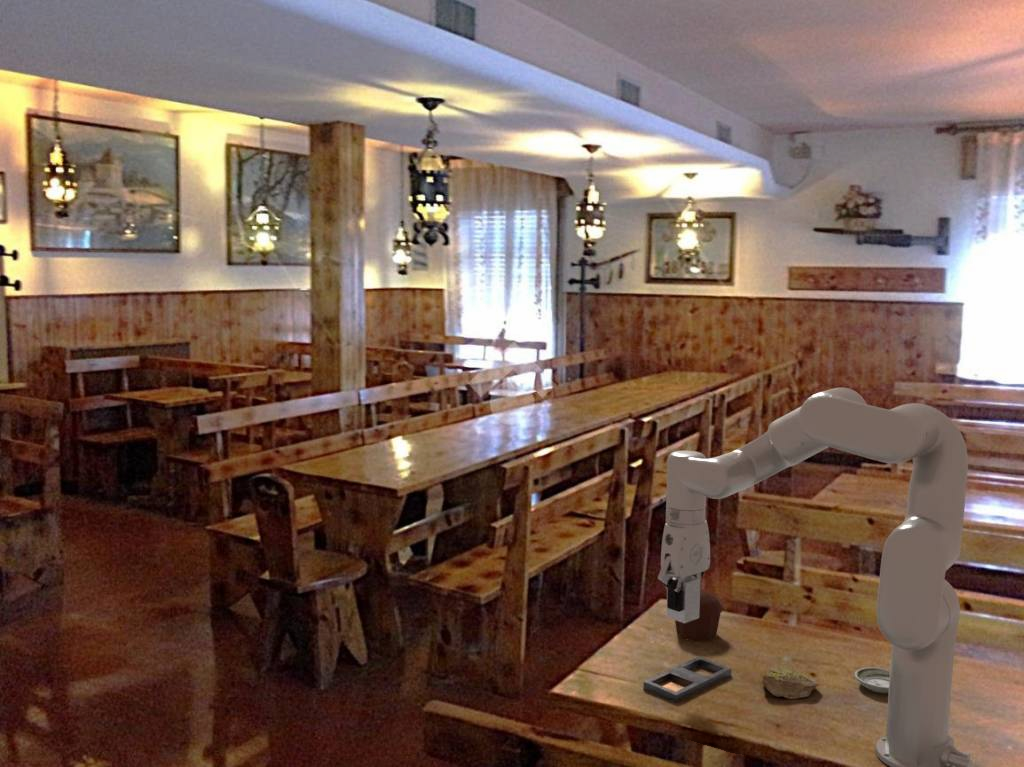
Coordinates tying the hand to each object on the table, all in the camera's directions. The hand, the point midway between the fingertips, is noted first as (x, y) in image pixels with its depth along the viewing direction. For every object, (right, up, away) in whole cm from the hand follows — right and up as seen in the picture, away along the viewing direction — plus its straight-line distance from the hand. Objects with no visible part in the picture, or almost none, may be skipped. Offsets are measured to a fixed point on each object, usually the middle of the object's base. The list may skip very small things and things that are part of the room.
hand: (683, 605), depth 187 cm
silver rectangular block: (0, -2, 0) cm, 2 cm away
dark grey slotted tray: (+2, -16, +4) cm, 17 cm away
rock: (+21, -17, +1) cm, 27 cm away
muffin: (+8, -13, +29) cm, 33 cm away
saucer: (+39, -17, +2) cm, 43 cm away
